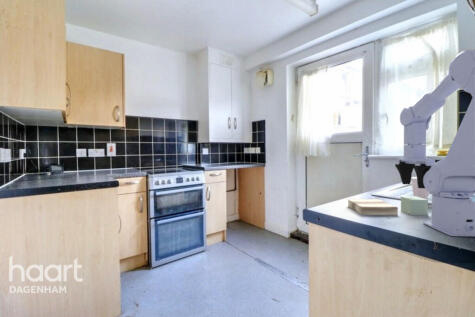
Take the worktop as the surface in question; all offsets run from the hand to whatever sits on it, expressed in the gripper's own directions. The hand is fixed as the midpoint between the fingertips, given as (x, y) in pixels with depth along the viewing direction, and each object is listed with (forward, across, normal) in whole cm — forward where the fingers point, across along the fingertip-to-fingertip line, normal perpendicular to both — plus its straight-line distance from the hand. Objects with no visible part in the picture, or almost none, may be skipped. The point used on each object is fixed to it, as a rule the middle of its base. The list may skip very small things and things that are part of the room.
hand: (414, 186), depth 73 cm
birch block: (+9, +3, +12) cm, 15 cm away
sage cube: (+9, 0, 0) cm, 9 cm away
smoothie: (+9, +13, -11) cm, 19 cm away
